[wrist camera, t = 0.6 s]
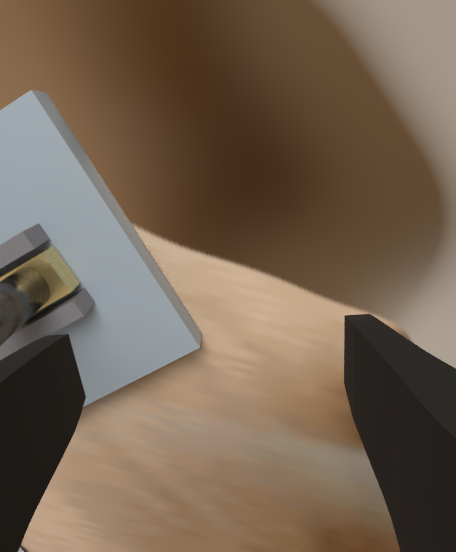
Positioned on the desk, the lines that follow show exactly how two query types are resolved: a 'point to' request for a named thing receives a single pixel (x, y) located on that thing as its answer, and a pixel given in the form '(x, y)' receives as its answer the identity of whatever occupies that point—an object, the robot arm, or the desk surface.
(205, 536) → the desk surface
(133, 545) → the desk surface
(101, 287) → the sliding latch plate
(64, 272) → the bolt
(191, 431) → the desk surface
